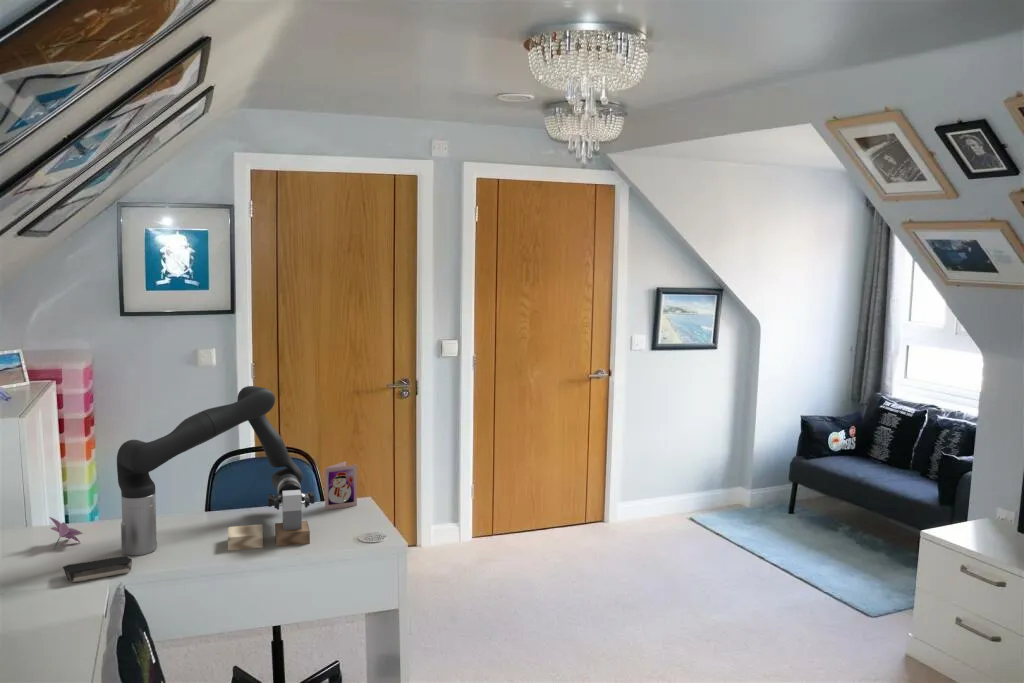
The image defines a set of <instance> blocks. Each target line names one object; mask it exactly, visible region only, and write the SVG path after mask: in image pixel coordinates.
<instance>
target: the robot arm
mask: <svg viewBox="0 0 1024 683" xmlns="http://www.w3.org/2000/svg"><path fill="white" fill-rule="evenodd" d="M275 403H276V396H275V394H274V393H273V392H272V390H270V389H268V388H266V387H261V386H255V385H247V386H244V387H243V388H241V390H239V392H238V394H237V400H236V401H235V402H232V403H229V404H224V405H219V406H215V407H211V408H207V409H204V410H202V411H199V412H196V413H195V414H193V415H191V416H189V417H187V418H185V419H183V420H182V421H181V422H180V423H179V424H178V425H177V426H176V427H175V428H174V429H173V430H172V431H171V432H170V433H168V434H166V435H164V436H162V437H159V438H157V439H153V440H151V441H142V440H139V439H129V440H127V441H125V442H123V443H122V444H121V445H120V447H119V449H118V450H117V455H116V472H117V481H118V482H117V483H118V487H119V489H120V492H121V493H120V495H121V496H120V497H121V523H120V541H121V542H120V543H121V556H122V555H125V556H127V555H128V556H142V555H143V556H144V555H147V554H150V553H152V552H155V551H156V550H157V548H158V542H157V541H158V540H157V505H156V504H157V503H156V501H157V497H156V484H155V482H154V481H153V479H152V478H151V476H150V473H151V472H152V471H154V470H156V469H157V468H159V467H161V466H162V465H164V464H165V463H167V462H168V461H170V460H172V459H173V458H175V457H177V456H179V455H181V454H182V453H185V452H187V451H189V450H191V449H193V448H196V447H198V446H199V445H202V444H204V443H206V442H209V441H210V440H212V439H214V438H216V437H218V436H219V435H221V434H224V433H225V432H227V431H229V430H232V429H233V428H235V427H237V426H240V425H241V424H243V423H245V422H248V423H249V424H250V426H251V428H252V429H253V431H254V433H255V434H256V436H257V438H258V441H259V443H260V444H261V447H262V449H263V451H264V453H265V456H266V458H267V461H268V463H269V465H270V467H272V468H282V467H284V468H282V469H280V470H277V471H275V472H274V473H272V474H271V478H270V481H271V484H272V487H273V488H274V489H275V490H276V491H277V495H274V494H273V493H269V494H268V495H267V496H268V497H267V507H269V508H270V507H273V506H274V509H276V510H278V511H279V510H280V507H282V491H289V490H301V497H302V505H304V508H308V507H309V506H310V504H315V493H314V492H313V491H312V490H309V491H308V492H307V493H304V492H303V491H302V490H303V489H302V486H301V483H302V482H303V479H304V474H303V472H302V470H301V469H300V467H299V466H298V464H296V463H295V462H294V460H293V459H292V457H291V456H290V454H289V451H288V449H287V446H286V445H285V444H286V443H285V442H284V439H283V438H282V437H281V435H280V433H279V432H278V431H277V429H275V427H274V426H273V425H272V423H271V422H270V421H269V419H268V418H267V416H266V414H268V413H269V412H270V411H271V410H272V409H273V408H274V406H275Z"/></svg>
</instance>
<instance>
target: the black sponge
mask: <svg viewBox="0 0 1024 683" xmlns="http://www.w3.org/2000/svg"><path fill="white" fill-rule="evenodd" d="M132 563H133V559H132V558H131V557H128V556H127V555H125V556H122V555H121V556H117V557H110V558H109V557H108V558H105V559H104V558H103V559H97V560H91V561H86V562H78V563H72V564H66V565H64V566H63V567H62V568H63V571H64V574H65V575H66V577H67V580H68V581H69V582H73V583H76V582H82V581H83V582H84V581H88V580H94V579H99V578H106V577H110V576H116V575H121V574H127V573H129V572H131V570H132V565H133V564H132Z"/></svg>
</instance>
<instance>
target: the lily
mask: <svg viewBox="0 0 1024 683" xmlns="http://www.w3.org/2000/svg"><path fill="white" fill-rule="evenodd" d="M48 518H49V520H51V521H52V522H53V524H54V525H55V526H53V527H50V530H51V531H52V530H53V531H55V532H57V533H58V534H59V537H58V539H57V540H56V543H55V545H54V548H55V547H56V548H57V545H58V543H59V541H60V539H61V538H65V539H66V538H68V539H70V540H74V541H76V542H77V541H78V542H77V543H79V542H80V543H81V541H80V540H79V538H77V536H79V535H83V534H84V533H83V532H82V531H80V530H78V529H76V528H73V527H69V526H68V524H66V522H60V521H59V520H58V519H56V518H54V517H51V516H48Z"/></svg>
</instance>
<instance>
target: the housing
mask: <svg viewBox="0 0 1024 683" xmlns="http://www.w3.org/2000/svg"><path fill="white" fill-rule="evenodd" d="M301 490H302V489H301ZM301 490H289V491H282V506H281V507H282V508H281V509H282V523H283V530H295V529H302V521H303V520H302V519H303V518H302V516H303V514H302V505H303V504H302V497H301Z"/></svg>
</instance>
